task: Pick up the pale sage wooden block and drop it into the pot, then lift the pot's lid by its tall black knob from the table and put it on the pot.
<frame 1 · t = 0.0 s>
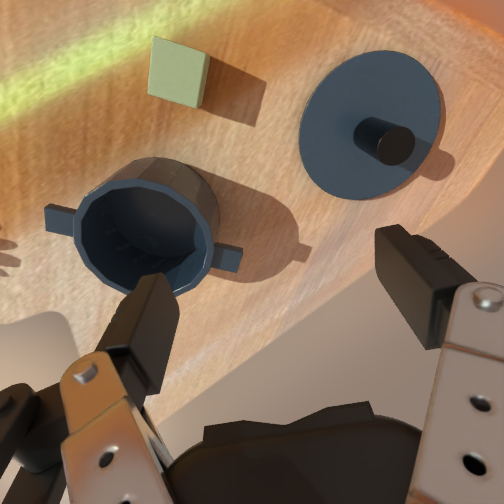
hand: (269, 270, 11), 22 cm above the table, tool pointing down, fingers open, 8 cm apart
lid: (366, 133, 29), point 1 cm above the table
block: (184, 74, 27), on the table
pot: (163, 213, 33), on the table
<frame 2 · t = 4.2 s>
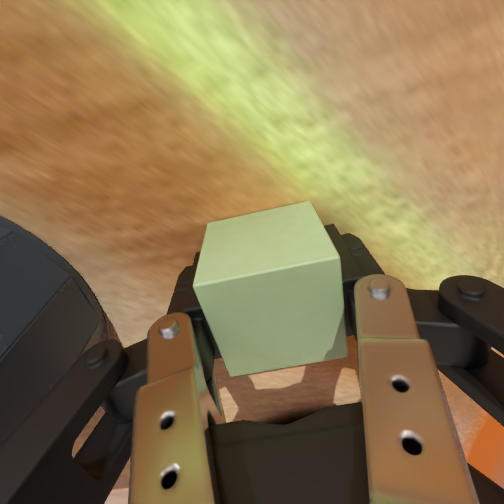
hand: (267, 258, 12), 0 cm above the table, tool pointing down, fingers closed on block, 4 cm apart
block: (267, 255, 12), on the table, touching gripper
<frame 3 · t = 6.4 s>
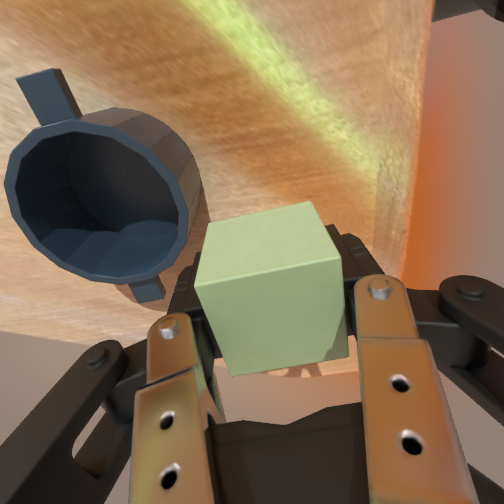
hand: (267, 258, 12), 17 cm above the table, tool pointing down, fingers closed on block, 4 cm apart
block: (268, 254, 12), point 17 cm above the table, touching gripper
pot: (134, 181, 28), on the table
when the fingers open (10 cm above the table, at t = 8.9 s): block drops 9 cm, resting on pot.
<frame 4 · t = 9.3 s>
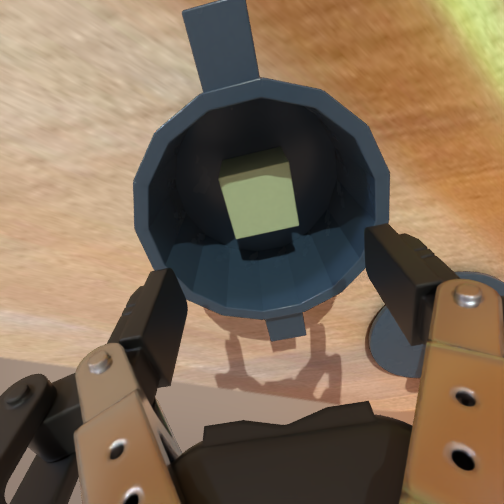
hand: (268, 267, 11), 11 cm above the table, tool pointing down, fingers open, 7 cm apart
lid: (438, 328, 28), point 1 cm above the table
block: (257, 182, 21), resting on pot
pot: (256, 179, 21), on the table
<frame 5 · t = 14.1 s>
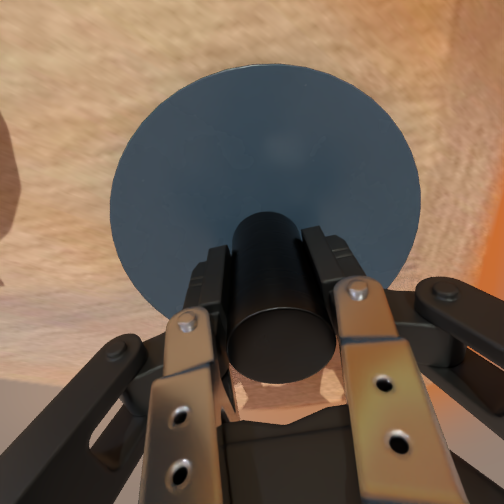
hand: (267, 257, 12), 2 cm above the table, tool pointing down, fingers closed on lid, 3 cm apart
lid: (265, 236, 14), point 1 cm above the table, touching gripper
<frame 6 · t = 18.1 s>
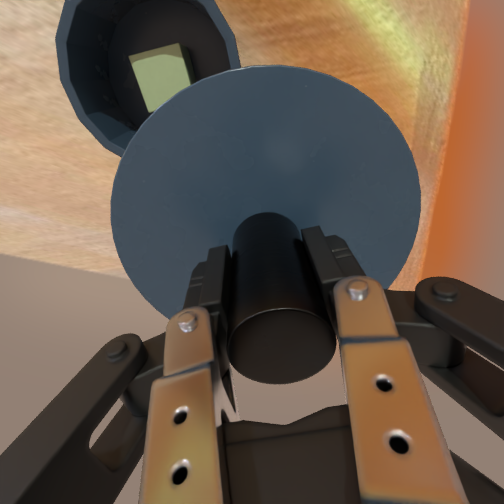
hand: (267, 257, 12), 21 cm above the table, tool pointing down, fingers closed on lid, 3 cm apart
lid: (265, 237, 14), point 19 cm above the table, touching gripper
block: (173, 78, 27), resting on pot
pot: (173, 78, 27), on the table
when the fingers open (9 cm above the table, at t = 22.0 s): lid stays where it is, resting on pot.
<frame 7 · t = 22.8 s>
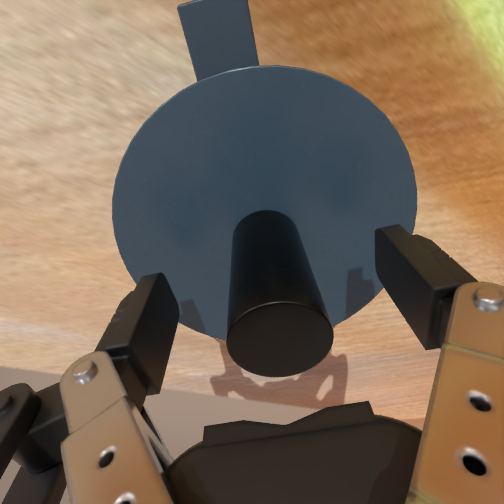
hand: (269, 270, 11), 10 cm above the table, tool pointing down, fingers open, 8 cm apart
lid: (264, 235, 14), point 7 cm above the table, touching pot
pot: (257, 184, 20), on the table
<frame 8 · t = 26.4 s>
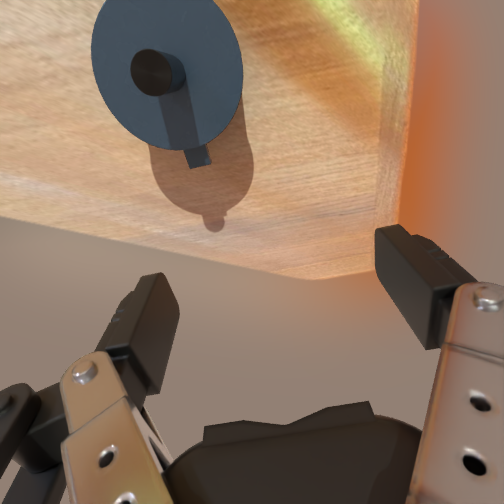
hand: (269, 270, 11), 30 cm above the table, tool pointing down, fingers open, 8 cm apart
lid: (169, 73, 27), point 7 cm above the table, touching pot
pot: (183, 73, 34), on the table
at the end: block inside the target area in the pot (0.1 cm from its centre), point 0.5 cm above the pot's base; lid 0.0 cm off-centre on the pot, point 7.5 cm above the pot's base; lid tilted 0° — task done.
